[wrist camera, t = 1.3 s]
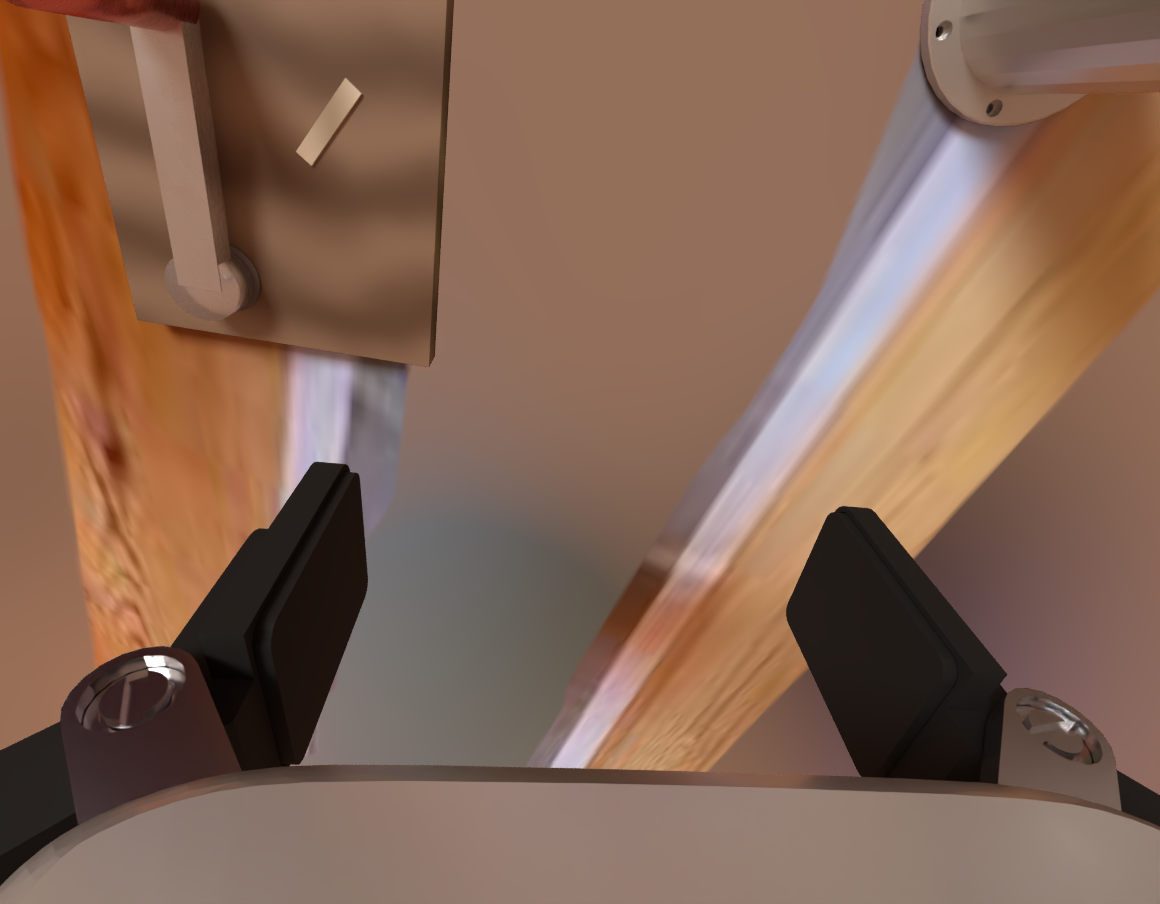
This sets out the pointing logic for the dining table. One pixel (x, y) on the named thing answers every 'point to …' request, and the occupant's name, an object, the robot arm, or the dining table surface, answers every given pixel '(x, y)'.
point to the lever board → (298, 167)
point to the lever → (178, 147)
